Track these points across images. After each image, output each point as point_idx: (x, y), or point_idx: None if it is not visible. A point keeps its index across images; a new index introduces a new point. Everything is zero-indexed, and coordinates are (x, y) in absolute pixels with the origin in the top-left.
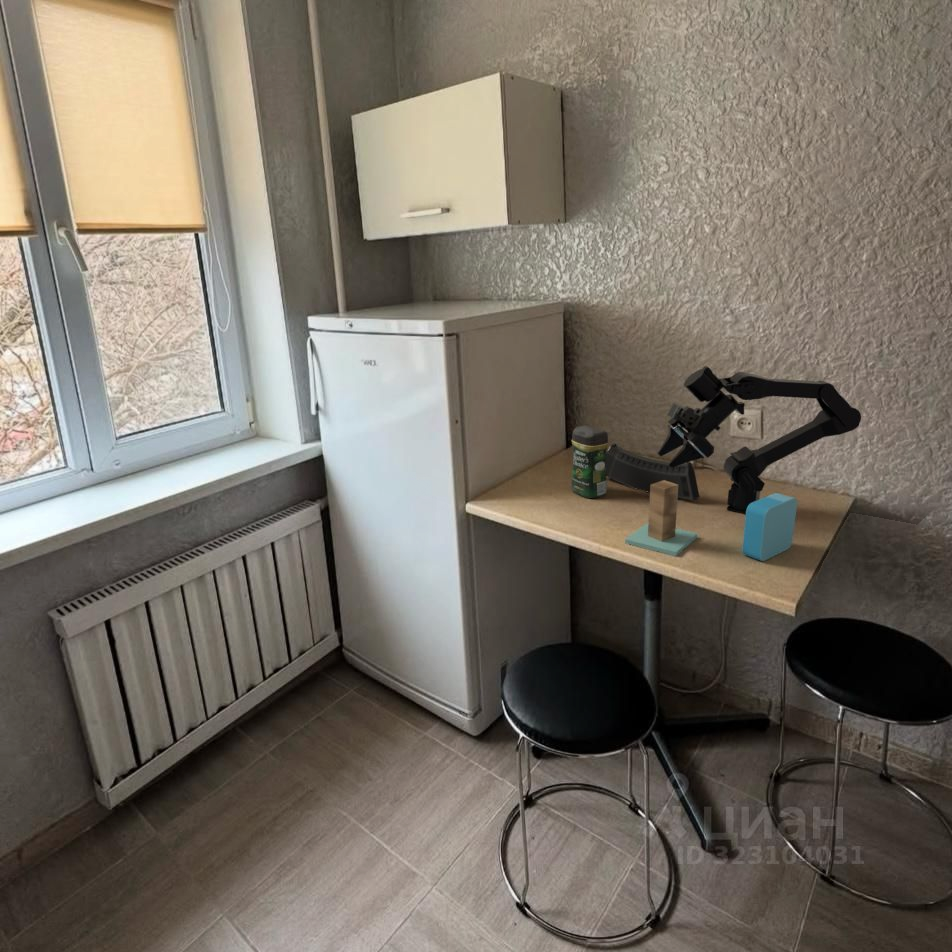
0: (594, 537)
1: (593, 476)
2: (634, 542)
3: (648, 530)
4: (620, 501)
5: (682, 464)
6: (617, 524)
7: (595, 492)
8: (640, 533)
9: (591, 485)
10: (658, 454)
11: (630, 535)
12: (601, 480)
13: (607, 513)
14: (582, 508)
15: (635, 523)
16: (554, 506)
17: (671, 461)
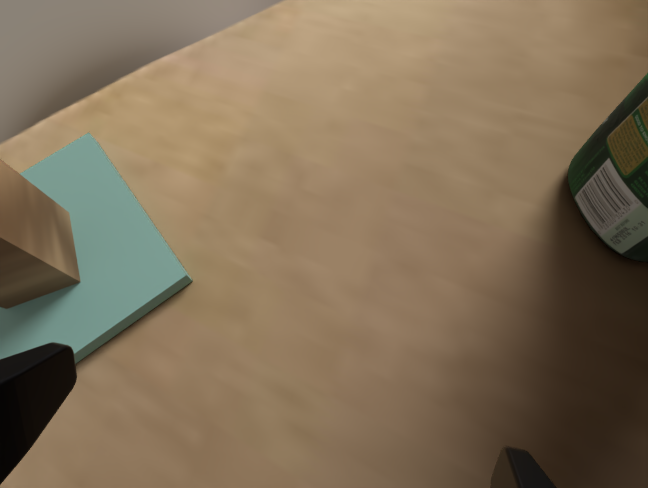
0: (186, 75)
1: (630, 113)
2: (58, 154)
3: (52, 201)
4: (510, 290)
5: None
6: (256, 177)
7: (578, 177)
8: (102, 197)
9: (598, 137)
10: (505, 452)
11: (106, 159)
12: (633, 179)
13: (378, 183)
14: (458, 115)
15: (238, 244)
16: (503, 36)
17: (13, 359)
